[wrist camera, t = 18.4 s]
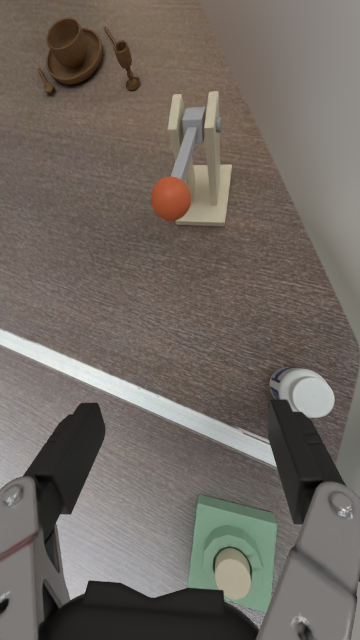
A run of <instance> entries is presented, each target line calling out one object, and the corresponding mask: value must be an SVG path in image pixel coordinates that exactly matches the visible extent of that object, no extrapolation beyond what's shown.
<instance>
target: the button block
mask: <svg viewBox="0 0 360 640" xmlns="http://www.w3.org/2000/svg"><path fill="white" fill-rule="evenodd" d="M276 533H277V522H276V519H275V516H274V513H271V512H267V511H263V510H259V509H255V508H251V507H247V506H243V505H239V504H235V503H231V502H227V501H223V500H220V499H216V498H212V497H208V496H204V495H200V494H199V498H198V503H197V511H196V520H195V528H194V537H193V545H192V553H191V562H190V570H189V578H188V588H200V589H214V590H219V589H218V587H217V584H216V581H215V561H216V557H217V555H218V554H219V552H220V551H221V550H223V549H225V548H234V549H237V550H239V551H240V552H241V553H242V554H243V555H244V556H245V557H246V559H247V561H248V564H249V568H250V577H251V587H250V590H249V592H248V594H247V595H246V596H245V597H243V598H242V599H238V600H234V599H230V598H228V597H226V596H225V595H224V600H226V601H229V602H232V603H235V604H238V605H241V606H244V607H247V608H250V609H253V610H256V611H259V612H262V613H265V614H266V612H267V609H268V606H269V604H270V601H271V594H272V582H273V570H274V558H275V545H276Z"/></svg>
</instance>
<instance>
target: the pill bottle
mask: <svg viewBox="0 0 360 640" xmlns="http://www.w3.org/2000/svg"><path fill="white" fill-rule="evenodd" d="M269 387H270V392H271V394H272V396H273V397H274V399H275V400H279V399H287V400H288V402H289V404H290V406H291V409H292V411H293V412H302V413H304V414H305V415H306V416H307V417H308V418H318V417H322V416H325V415H327V414H328V413H329V412H330V411H331V410H332V408H333V405H334V394H333V391H332V389H331V388H330V386H329V385H328V384H327V383H326V381H325V380H324V379H323V378H322V377H321V376H320V375H319V374H317V373H315V372H313V371H311V370H307V369H301V368H295V367H283V368H280V369H278V370H277V371H275V372H274V373H273V375H272V376H271V378H270V383H269Z"/></svg>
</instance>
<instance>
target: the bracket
mask: <svg viewBox="0 0 360 640" xmlns="http://www.w3.org/2000/svg"><path fill="white" fill-rule="evenodd" d="M184 114H185V112H184V105H183V99H182V94H174V95H173V99H172V105H171V111H170V118H169V120H168V133H169V137H170V141H171V145H172V149H173V153H174V157H175V161H176V160H177V157H178V154H179V151H180V148H181V145H182V142H183V139H184V136H183V125H182V119H183V116H184ZM221 125H222V117H219V95H218V91H214V92H209V97H208V104H207V111H206V118H205V125H204V133H205V144H206V155H207V165H193V161H192V158H191V161H190V164H189V168H188V171H187V174H186V178H185V181H184V182H185V184H186V185H187V186H188V188H189V190H190V194H191V205H190V208H189V210H188V212H187V213H186V214H185V215H184V216H183V217H182V218H181V219H179V220H176V221H175V222H176V225H198V226H225V220H226V212H227V204H228V196H229V188H230V180H231V171H232V165H220V139H219V133H220V132H221Z"/></svg>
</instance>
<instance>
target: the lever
mask: <svg viewBox="0 0 360 640" xmlns="http://www.w3.org/2000/svg"><path fill="white" fill-rule="evenodd" d="M205 118H206V108H205V107H194V108H186V111H185V114H184V116H183V119H182V125H183V136H184V139H183V142H182V145H181V148H180V151H179V154H178V157H177V160H176V163H175V165H174V168H173V171H172V174H171V176H170V177H165V178H163V179H161V180H159V181H158V182H157V183H156V185H155V186H154V188H153V190H152V195H151V202H152V206H153V209H154V211H155V212H156V214H157V215H158V216H159V217H161V218H162V219H164V220H167V221H176V220H179V219H181V218H182V217H183V216H184V215H185V214H186V213H187V212H188V210H189V208H190V205H191V194H190V190H189V188H188V186H187V185H186V184H185V182H184V181H185V178H186V174H187V171H188V168H189V164H190V161H191V158H192V154H193V151H194V147H195V144H200V143H203V140H204V136H205V133H204V125H205Z"/></svg>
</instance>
